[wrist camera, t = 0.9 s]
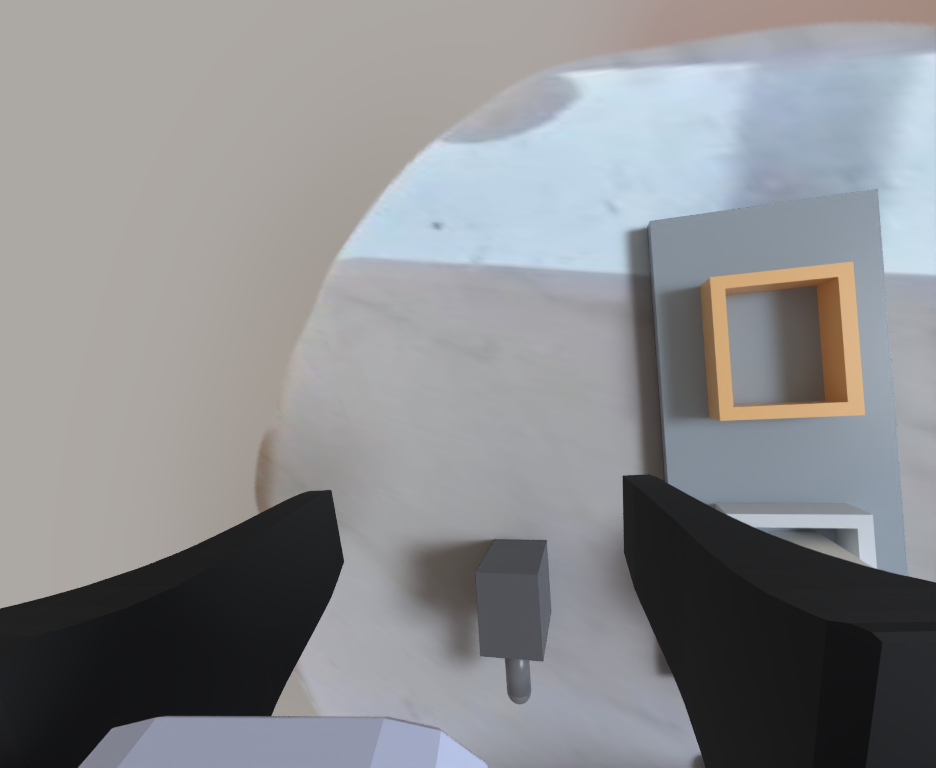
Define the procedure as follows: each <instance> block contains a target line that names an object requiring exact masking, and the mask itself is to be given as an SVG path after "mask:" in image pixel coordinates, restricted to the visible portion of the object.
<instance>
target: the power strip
mask: <svg viewBox="0 0 936 768" xmlns="http://www.w3.org/2000/svg"><path fill="white" fill-rule="evenodd" d="M648 242H649V256H650V271H651V285H652V300H653V314H654V329H655V343H656V358H657V372H658V387H659V401H660V416H661V430H662V445H663V459H664V473H665V482H666V483H668V484H670V485H672V486H674V487H676V488H677V489H679V490H681V491H683V492H685V493H686V494H688V495H690V496H692V497H694V498H696V499H697V500H699V501H701V502H703V503H705V504H707V505H709V506H711V507H712V508H714V509H716V510H718V511H720V512H722V513H724V514H726V515H728V516H731V517H733V518H735V519H737V520H739V521H741V522H744V523H746V524H748V525H750V526H752V527H754V528H757V529H759V530H762V531H764V532H766V533H769V534H771V535H774V536H777V537H779V538H782V539H784V540H787V541H790V542H792V543H795V544H798V545H800V546H803V547H806V548H809V549H812V550H815V551H818V552H821V553H824V554H827V555H831V556H834V557H837V558H841V559H844V560H847V561H851V562H854V563H858V564H861V565H864V566H868V567H872V568H876V569H880V570H884V571H887V572H891V573H895V574H900V575H904V576H908V571H907V558H906V545H905V532H904V520H903V507H902V494H901V481H900V469H899V456H898V443H897V430H896V418H895V405H894V392H893V379H892V367H891V354H890V341H889V328H888V316H887V303H886V290H885V277H884V265H883V252H882V239H881V226H880V214H879V201H878V189H874V190H867V191H859V192H852V193H845V194H838V195H831V196H824V197H817V198H810V199H803V200H796V201H789V202H782V203H775V204H768V205H761V206H754V207H746V208H739V209H732V210H725V211H718V212H711V213H704V214H697V215H690V216H683V217H676V218H669V219H662V220H655V221H650V222H649V225H648Z"/></svg>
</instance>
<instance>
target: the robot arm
mask: <svg viewBox="0 0 936 768" xmlns="http://www.w3.org/2000/svg"><path fill="white" fill-rule="evenodd" d="M623 518H624V554H625V557H626V561H627V564H628V568H629V571H630V575H631V578H632V581H633V584H634V588H635V591H636V593H637V595H638V598H639V600H640V602H641V605H642V607H643V609H644V611H645V614H646V616H647V618H648V620H649V623H650V625H651V627H652V629H653V632H654V634H655V636H656V638H657V640H658V643H659V645H660V647H661V649H662V652H663V654H664V656H665V658H666V661H667V663H668V665H669V667H670V669H671V672H672V674H673V676H674V678H675V681H676V683H677V686H678V688H679V691H680V693H681V696H682V698H683V701H684V703H685V706H686V709H687V712H688V715H689V718H690V721H691V724H692V727H693V730H694V733H695V736H696V739H697V742H698V745H699V748H700V751H701V754H702V757H703V760H704V763H705V766H706V768H936V583H935V582H930V581H926V580H922V579H917V578H913V577H908V576H904V575H900V574H895V573H891V572H887V571H884V570H880V569H876V568H872V567H868V566H864V565H861V564H858V563H854V562H851V561H847V560H844V559H841V558H837V557H834V556H831V555H827V554H824V553H821V552H818V551H815V550H812V549H809V548H806V547H803V546H800V545H798V544H795V543H792V542H790V541H787V540H784V539H782V538H779V537H777V536H774V535H771V534H769V533H766V532H764V531H762V530H759V529H757V528H754V527H752V526H750V525H748V524H746V523H744V522H741V521H739V520H737V519H735V518H733V517H731V516H728V515H726V514H724V513H722V512H720V511H718V510H716V509H714V508H712V507H711V506H709V505H707V504H705V503H703V502H701V501H699V500H697V499H696V498H694V497H692V496H690V495H688V494H686V493H685V492H683V491H681V490H679V489H677V488H676V487H674V486H672V485H670V484H668V483H666V482H665V481H663V480H661V479H659V478H657V477H655V476H652V475H649V474H648V475H628V476H623ZM343 563H344V559H343V553H342V547H341V542H340V536H339V531H338V525H337V519H336V514H335V508H334V502H333V497H332V491H331V490H324V491H308V492H305V493H302V494H299V495H297V496H294V497H292V498H290V499H288V500H286V501H284V502H282V503H280V504H278V505H276V506H274V507H272V508H270V509H268V510H266V511H264V512H262V513H260V514H258V515H256V516H254V517H252V518H250V519H248V520H246V521H244V522H243V523H241V524H239V525H237V526H235V527H232V528H230V529H228V530H226V531H224V532H222V533H220V534H218V535H216V536H214V537H212V538H210V539H207V540H205V541H203V542H201V543H199V544H197V545H195V546H193V547H190V548H188V549H186V550H183V551H181V552H179V553H176V554H174V555H172V556H169V557H167V558H164V559H161V560H159V561H156V562H154V563H151V564H149V565H146V566H143V567H141V568H138V569H135V570H132V571H129V572H126V573H123V574H120V575H117V576H114V577H111V578H108V579H105V580H102V581H99V582H97V583H93V584H90V585H87V586H84V587H81V588H77V589H74V590H70V591H66V592H63V593H59V594H56V595H52V596H49V597H45V598H41V599H37V600H33V601H29V602H25V603H22V604H18V605H14V606H9V607H5V608H1V609H0V768H488V767H487V765H486V763H485V762H483V761H482V760H481V759H480V758H479V757H478V756H476V755H475V754H473V753H472V752H471V751H469V750H468V749H467V748H465V747H464V746H463V745H461V744H460V743H459V742H457V741H456V740H454V739H453V738H452V737H450V736H449V735H448V734H446V733H445V732H444V731H442V730H441V729H439V728H438V727H433V726H428V725H424V724H419V723H415V722H410V721H405V720H401V719H396V718H391V717H310V716H309V717H307V716H306V717H305V716H300V717H299V716H292V717H291V716H287V717H286V716H278V717H277V716H271V715H272V713H273V710H274V708H275V705H276V703H277V701H278V699H279V697H280V695H281V693H282V691H283V688H284V687H285V684H286V682H287V680H288V679H289V677H290V675H291V673H292V671H293V669H294V667H295V665H296V664H297V662H298V660H299V658H300V656H301V654H302V652H303V650H304V649H305V647H306V645H307V643H308V641H309V639H310V637H311V635H312V634H313V632H314V630H315V628H316V626H317V624H318V622H319V620H320V618H321V616H322V614H323V613H324V611H325V609H326V607H327V605H328V603H329V601H330V599H331V597H332V594H333V591H334V589H335V586H336V583H337V581H338V578H339V575H340V572H341V569H342V566H343Z"/></svg>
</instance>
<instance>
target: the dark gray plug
mask: <svg viewBox="0 0 936 768" xmlns="http://www.w3.org/2000/svg"><path fill="white" fill-rule="evenodd" d="M475 577H476V593H477V609H478V625H479V642H480V656H484V657H496V658H505V665H506V681H507V693H508V696H509V698H510V699H511V700H512V701H513V702H514V703H516V704H523V703H525V702H527V701H528V699H529V698H530V695H531V682H530V666H529V660H533V661H543V660H544V653H545V647H546V641H547V634H548V628H549V622H550V616H551V600H550V584H549V568H548V553H547V540H505V539H495V540H494V542H493V544H492V545H491V547H490V549H489V550H488V552H487V554H486V555H485V557H484V559H483V560H482V562H481V564H480V565H479V567H478V569H477V570H476V572H475Z"/></svg>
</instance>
